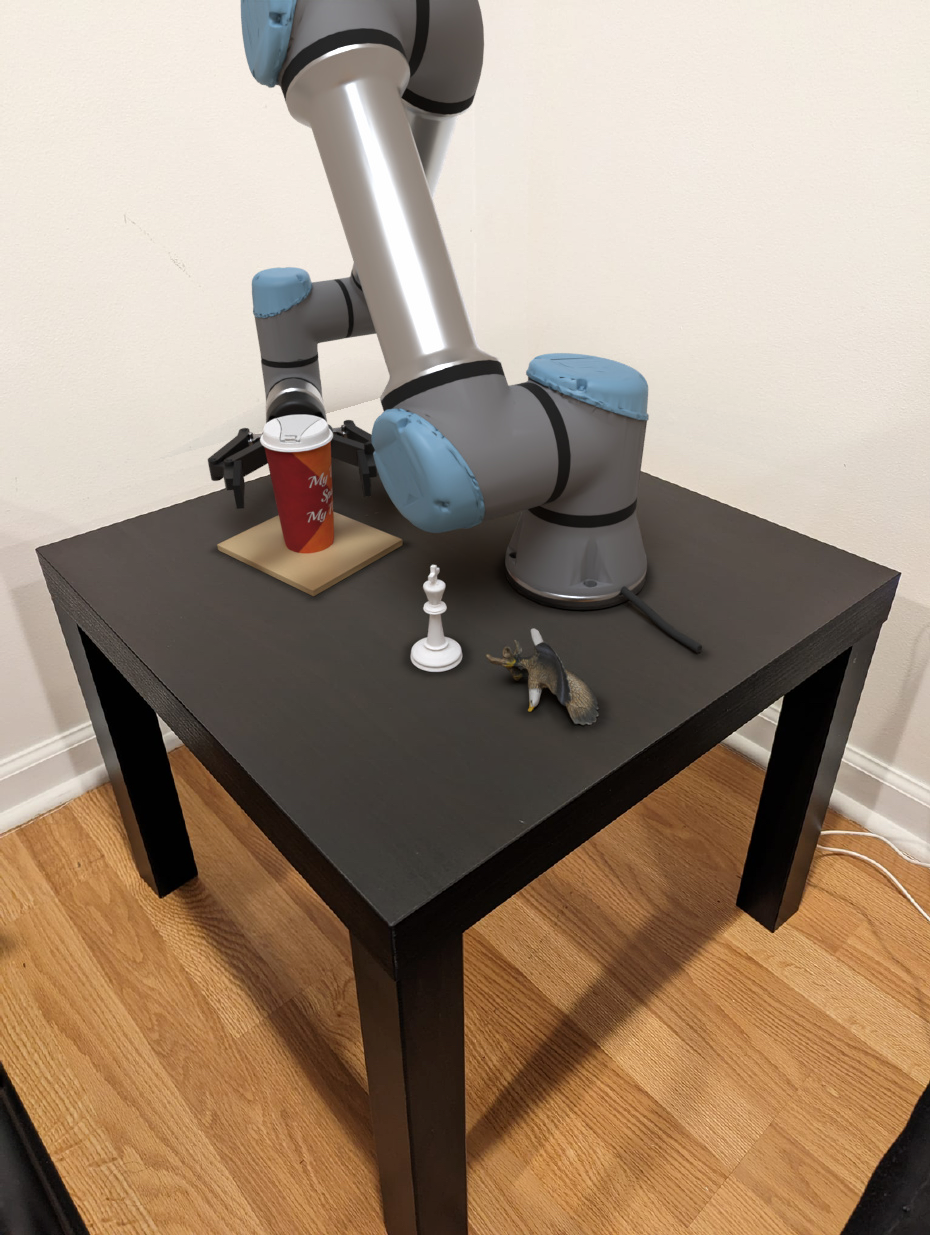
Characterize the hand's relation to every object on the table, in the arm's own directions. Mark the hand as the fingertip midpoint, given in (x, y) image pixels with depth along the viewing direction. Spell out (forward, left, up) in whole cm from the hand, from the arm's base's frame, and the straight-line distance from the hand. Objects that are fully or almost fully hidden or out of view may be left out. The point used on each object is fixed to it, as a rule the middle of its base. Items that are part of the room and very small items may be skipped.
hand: (303, 491), depth 93 cm
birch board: (+3, -2, -9) cm, 9 cm away
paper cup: (+3, -2, -8) cm, 9 cm away
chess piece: (-22, +5, -9) cm, 25 cm away
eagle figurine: (-34, +4, -9) cm, 36 cm away
